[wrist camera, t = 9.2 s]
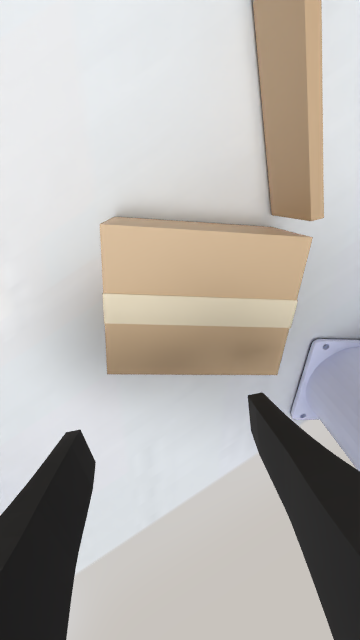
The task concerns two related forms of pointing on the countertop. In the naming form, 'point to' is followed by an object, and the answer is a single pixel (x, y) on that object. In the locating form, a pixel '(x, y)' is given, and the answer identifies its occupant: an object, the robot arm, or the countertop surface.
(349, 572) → the robot arm
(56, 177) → the countertop surface
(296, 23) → the flap
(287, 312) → the carton
